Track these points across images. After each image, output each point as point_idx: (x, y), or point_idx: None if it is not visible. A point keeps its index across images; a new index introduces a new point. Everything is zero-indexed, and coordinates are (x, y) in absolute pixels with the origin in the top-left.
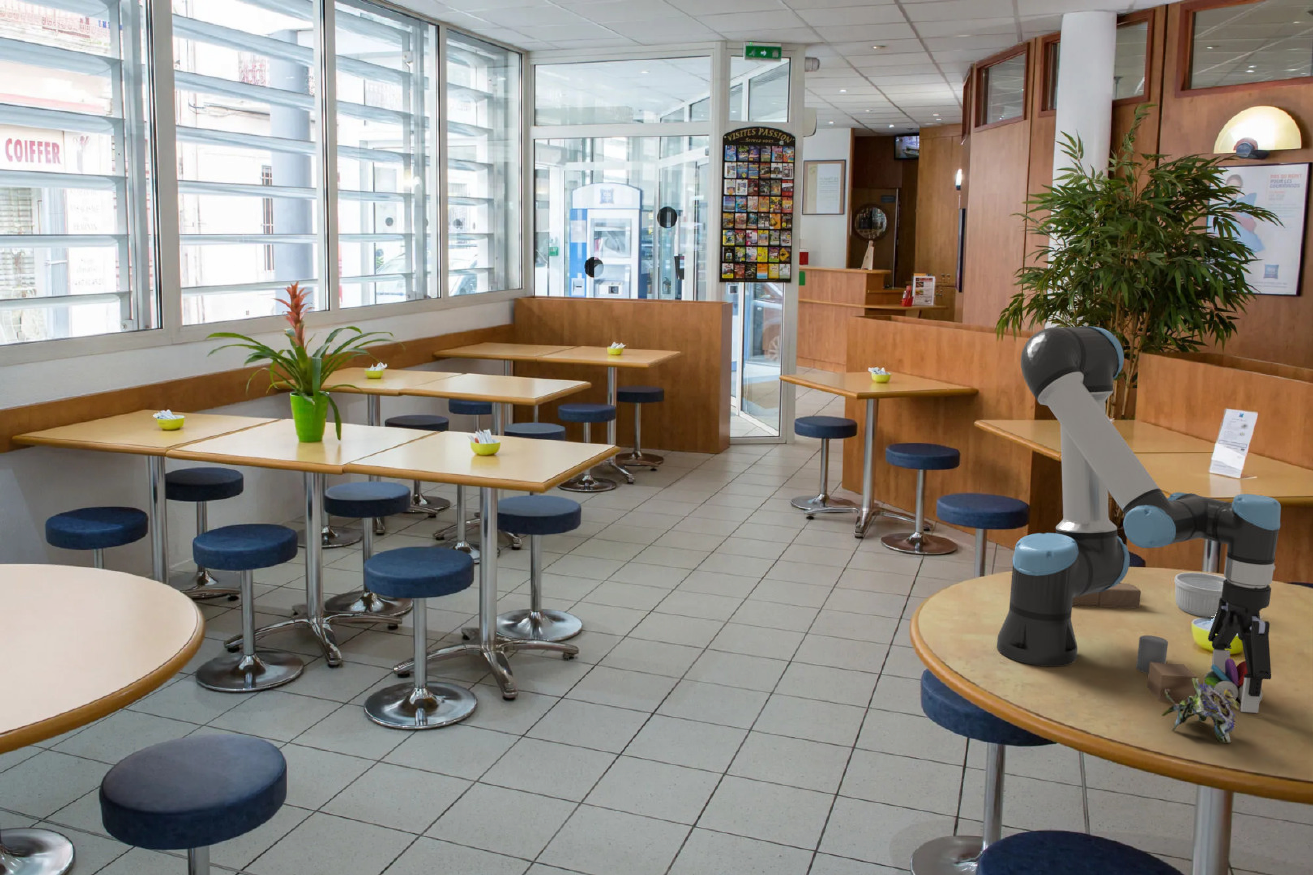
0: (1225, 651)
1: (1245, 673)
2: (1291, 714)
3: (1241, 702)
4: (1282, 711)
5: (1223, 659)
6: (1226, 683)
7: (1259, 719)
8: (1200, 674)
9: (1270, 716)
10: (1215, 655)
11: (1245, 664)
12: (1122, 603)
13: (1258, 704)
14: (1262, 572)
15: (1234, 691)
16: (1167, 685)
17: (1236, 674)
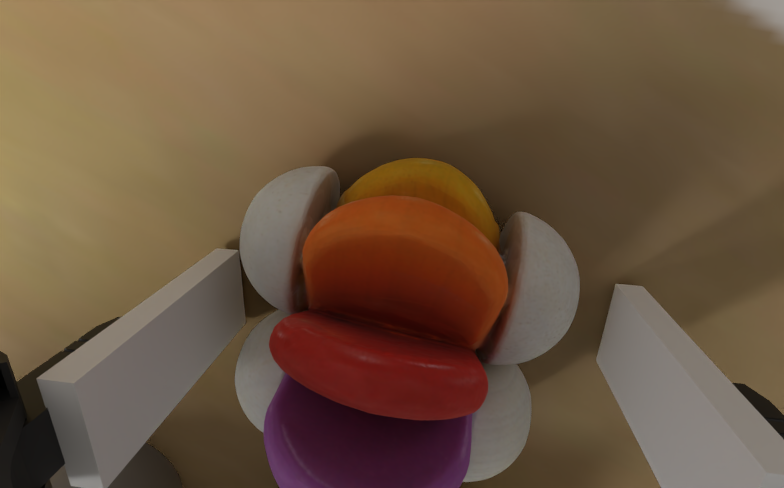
0: (84, 417)
1: (480, 405)
2: (675, 62)
3: (616, 392)
4: (619, 102)
5: (142, 371)
6: (494, 468)
7: (714, 313)
8: (116, 301)
9: (684, 227)
10: (135, 450)
11: (401, 416)
12: None
13: (665, 315)
14: None
15: (527, 407)
16: None
17: (469, 451)
